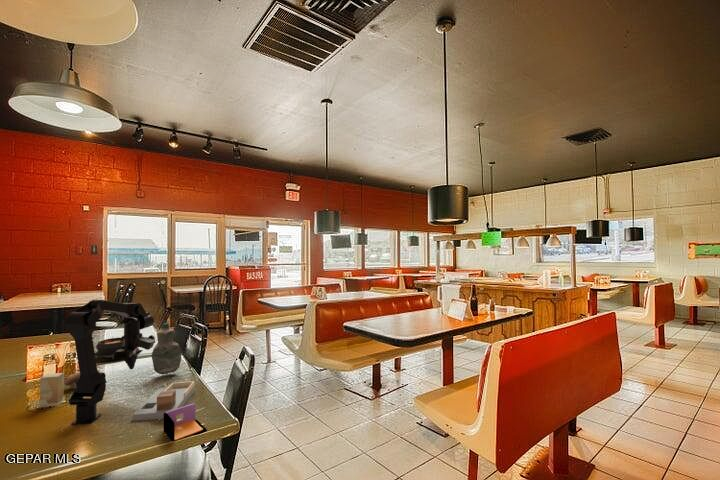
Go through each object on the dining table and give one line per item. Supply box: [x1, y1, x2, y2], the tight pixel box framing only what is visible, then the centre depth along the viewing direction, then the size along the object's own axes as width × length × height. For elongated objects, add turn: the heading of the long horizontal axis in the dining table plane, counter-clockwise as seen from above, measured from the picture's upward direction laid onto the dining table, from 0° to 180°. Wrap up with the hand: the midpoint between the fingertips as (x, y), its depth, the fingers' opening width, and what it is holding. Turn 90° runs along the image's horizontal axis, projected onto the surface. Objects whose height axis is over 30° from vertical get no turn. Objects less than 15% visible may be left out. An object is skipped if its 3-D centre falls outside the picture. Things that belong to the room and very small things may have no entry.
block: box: [157, 390, 176, 410], centre depth 130 cm, size 5×5×5 cm
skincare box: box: [38, 372, 65, 408], centre depth 138 cm, size 6×4×12 cm
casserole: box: [95, 336, 124, 359], centre depth 204 cm, size 25×19×8 cm
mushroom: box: [64, 372, 80, 390], centre depth 155 cm, size 8×8×6 cm
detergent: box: [151, 322, 182, 375], centre depth 172 cm, size 13×7×25 cm, turn 124°
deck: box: [131, 380, 196, 421], centre depth 137 cm, size 24×14×4 cm, turn 9°
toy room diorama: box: [163, 403, 208, 442], centre depth 117 cm, size 12×12×7 cm
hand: (131, 369), depth 147 cm, fingers closed
